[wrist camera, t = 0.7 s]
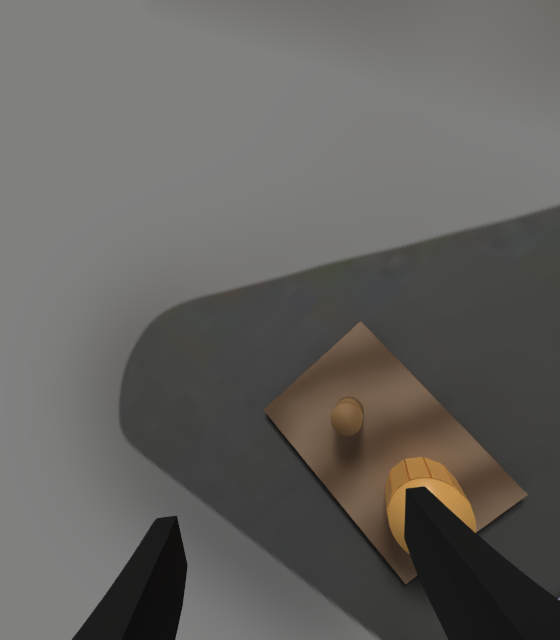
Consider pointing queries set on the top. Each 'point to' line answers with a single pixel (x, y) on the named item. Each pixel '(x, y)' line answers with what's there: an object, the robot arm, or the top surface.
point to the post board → (381, 438)
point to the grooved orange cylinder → (434, 480)
